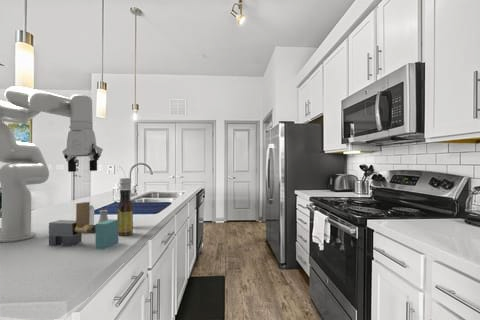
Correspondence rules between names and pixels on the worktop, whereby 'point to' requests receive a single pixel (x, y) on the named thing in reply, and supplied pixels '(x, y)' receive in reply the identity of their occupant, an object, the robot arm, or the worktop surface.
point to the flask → (103, 216)
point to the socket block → (106, 234)
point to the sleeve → (63, 233)
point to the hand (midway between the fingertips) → (82, 171)
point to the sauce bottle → (125, 213)
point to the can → (91, 215)
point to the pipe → (124, 182)
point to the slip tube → (83, 219)
